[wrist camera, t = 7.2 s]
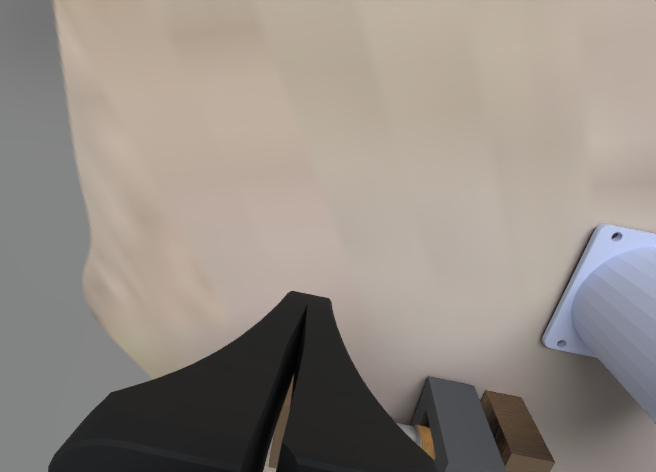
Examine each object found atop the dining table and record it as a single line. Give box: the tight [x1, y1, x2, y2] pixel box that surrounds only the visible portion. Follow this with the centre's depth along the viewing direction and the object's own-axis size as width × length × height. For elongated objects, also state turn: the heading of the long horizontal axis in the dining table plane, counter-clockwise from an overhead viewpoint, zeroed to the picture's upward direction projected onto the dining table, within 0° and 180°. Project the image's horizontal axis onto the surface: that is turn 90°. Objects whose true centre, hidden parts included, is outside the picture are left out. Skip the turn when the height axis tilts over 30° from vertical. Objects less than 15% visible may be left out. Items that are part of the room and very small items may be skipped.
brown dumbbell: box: [268, 375, 555, 472], centre depth 23 cm, size 15×5×5 cm, turn 80°
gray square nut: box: [411, 377, 507, 472], centre depth 22 cm, size 3×6×6 cm, turn 170°
